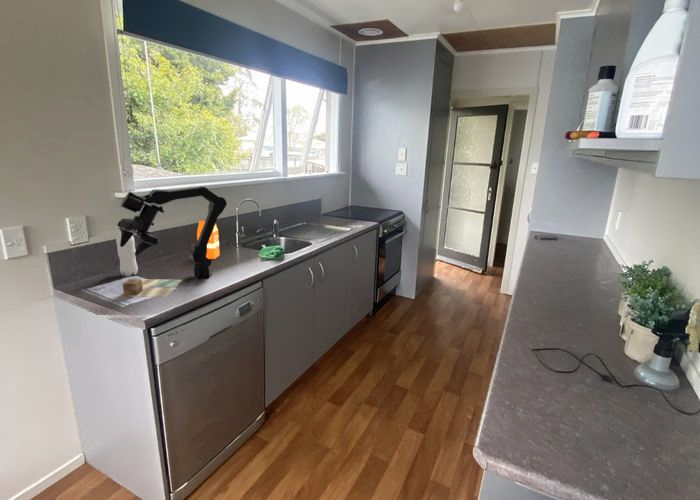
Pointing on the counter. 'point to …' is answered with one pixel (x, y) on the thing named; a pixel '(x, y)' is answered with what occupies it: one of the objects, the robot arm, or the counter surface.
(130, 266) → the water bottle
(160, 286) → the birch board
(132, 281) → the walnut block
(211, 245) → the orange juice
